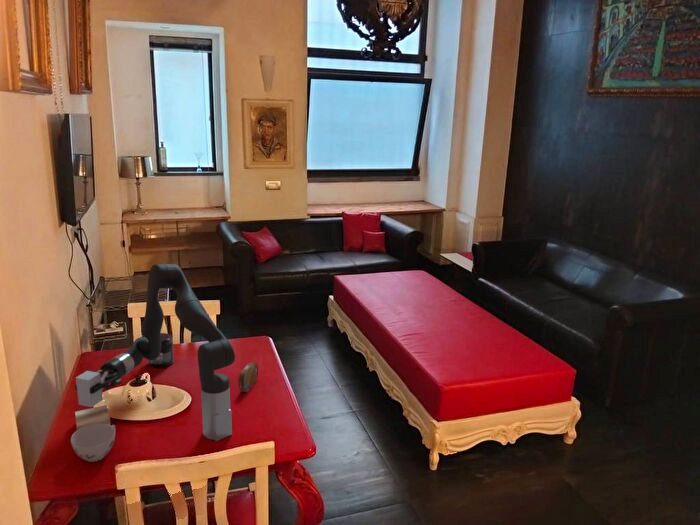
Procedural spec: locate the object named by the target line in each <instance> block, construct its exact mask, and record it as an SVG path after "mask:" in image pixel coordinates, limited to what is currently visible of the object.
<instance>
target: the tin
mask: <svg viewBox="0 0 700 525" xmlns="http://www.w3.org/2000/svg"><path fill="white" fill-rule="evenodd" d="M258 375H259V365H258V364H257V362H248V363H247V364H246V365H245V366H244V367H243V369H242V370H241V371H240V373H239V375H238V380H237V381H238V382H237V383H238V390H239V391H240V392H244V393H248V392H249V391H250V390H251V389H252V387H254V385H255V383H257V379H258Z"/></svg>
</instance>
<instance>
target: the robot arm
mask: <svg viewBox="0 0 700 525" xmlns="http://www.w3.org/2000/svg"><path fill="white" fill-rule="evenodd" d="M161 289H162V290H164V289H170V290H171V289H172V290H173V291H175V293H176V295H177V297H176V300H175V304H174V313H175V315H176V317H177V319H178V321H179V322H180V324H181V325H182V327H183V328H184V329H185V330H187V331H189V332H190V333H193V334H194V335H196V336H199V337H201V338H203V339H204V340H206V341H207V342H206V343H205V342H204V343H202V344H200V345H199V346H198V349H197V364H198V374H199V376H198V377H199V381H200V388H201V390H200V391H201V394H200V395H201V414H202V417H201V418H202V433H203V434H202V435H203V437H204V438H206V439H208V440H213V441H215V442H219V441H220V440H223V439H225V438H227V437H230V436H231V435H233V425H232V424H233V421H232V409H231V393H230V392H231V388H230V384H231V383H230V378H229V377H228V376H227V375H226V374H223V373H219V372H215V371H217V370H220V369H223V368H226V367H227V368H228V367H229V366H232V365H233V364H234V363H235V360H236V354H235V349H234V347H233V346H232V344H231V342H230V341H229V339H228V338H227V337H226V336H225V335H224V334H223V333H222V331H221V330H220V329H219V327H218V326H216V324H215V323H214V321H213V320H212V318H211V317H210V316H209V314H208V312H207V311H206V309H205V307H204V306H203V304H202V303H201V301H200V300H199V299H198V297H197V296H196V294H195V292H194V291H193V289H192V287H191V286H190V284H189V282H188V280H187V278H186V276H185V274H184V272H183V270H182V268H181V267H180V266H179V265H178V264H174V263H155V264H153V265H151V267H150V269H149V271H148V277H147V289H146V302H145V303H146V304H145V313H144V318H143V320H142V321H143V322H142V324H141V325H142V326H141V332H140V333H141V335H142V336H140V337H138V338H136V339H135V340H134V341H133V343H132V344H131V345H130V347H129V348H127V349H126V350H124V352H122V353H120V354H117V355H116V356H114V357H113V358H110V359H109V360H108V361H106V362H105V363H103V364H102V365H101V367H100V369H98V370H95V371H94V372H97V373H100V377H101V381H100V382H99V383H97V384H95V385H94V386H92V387H91V388H90V394H93V393H95V392H97V391H98V390H100V389H102V390H104V389H105V390H109V389H111V388H113V387H115V386H117V385H120V384H121V383H122V378H123V377H125V376H126V375H127V374H129V373H130V372H131V371H132V370H134V369H135V368H137V367H138V366H140V365H141V363H142V362H143V360H144V359H145V360H147V361H148V360H151V361H152V360H155V359H156V358H158V356H159V355H160V352H161V333H162V328H163V325H164V318H165V315H164V311H163V308H162V306H161V304H160V302H159V301H160V300H159V296H158V295H159V293H160V292H159V291H160V290H161ZM86 371H92V370H91V369H87V370H86ZM74 388H75V391H76V392H77V385H76V384H74Z"/></svg>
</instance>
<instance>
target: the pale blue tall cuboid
mask: <svg viewBox="0 0 700 525" xmlns="http://www.w3.org/2000/svg"><path fill="white" fill-rule="evenodd" d="M100 381H101V377H100V373H97V372H95V371H92V370H91V371H87V370H86V371H84V372H83V373H81V374H79V375H78V376H76V377H75V385H77V391H76V393H77V400H78V405H79V406H84V407H88V408H94V406H95V405H97V404H99V403H100V402H102V401H103V399H104V398H103V397H104V396H103V389H100V390H98V391H97V392H95V393H93V394H90V388H91V387H92V386H94V385H95V384H97V383H99V382H100Z"/></svg>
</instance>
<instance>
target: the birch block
mask: <svg viewBox="0 0 700 525" xmlns="http://www.w3.org/2000/svg"><path fill="white" fill-rule="evenodd" d="M74 414H75V424H76V431H77V430H78V429H80V428H82V427H85V426H87V425H92V424H108V425H110V426H111V418H110V413H109V409H108V405H107V404H105V405H100V406H95V407H89V408H86V409H82V410H77V411H75V412H74Z"/></svg>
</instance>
